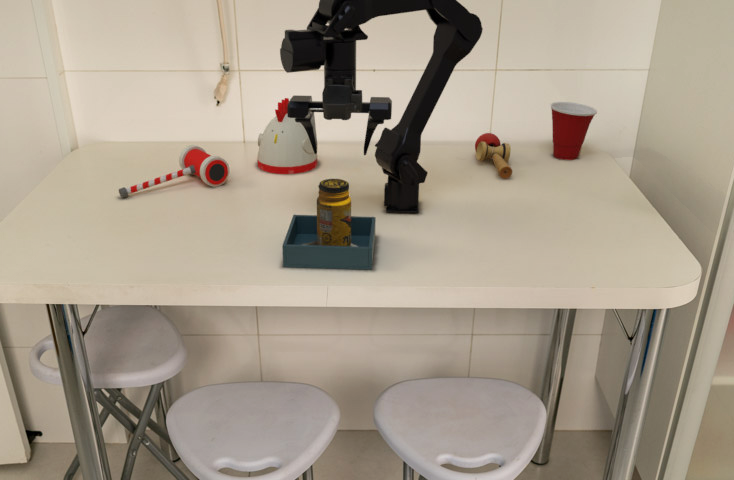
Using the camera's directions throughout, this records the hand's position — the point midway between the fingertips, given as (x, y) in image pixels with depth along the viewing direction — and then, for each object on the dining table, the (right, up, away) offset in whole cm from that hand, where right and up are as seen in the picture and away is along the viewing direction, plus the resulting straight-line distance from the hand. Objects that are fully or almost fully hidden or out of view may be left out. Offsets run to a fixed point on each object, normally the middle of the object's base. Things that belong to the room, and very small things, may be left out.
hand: (340, 154), depth 146 cm
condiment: (-2, -19, -7) cm, 20 cm away
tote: (-2, -19, -7) cm, 20 cm away
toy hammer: (-35, -1, +23) cm, 42 cm away
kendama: (+35, +5, +35) cm, 50 cm away
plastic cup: (+54, +9, +42) cm, 69 cm away
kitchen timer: (-13, +6, +36) cm, 39 cm away
